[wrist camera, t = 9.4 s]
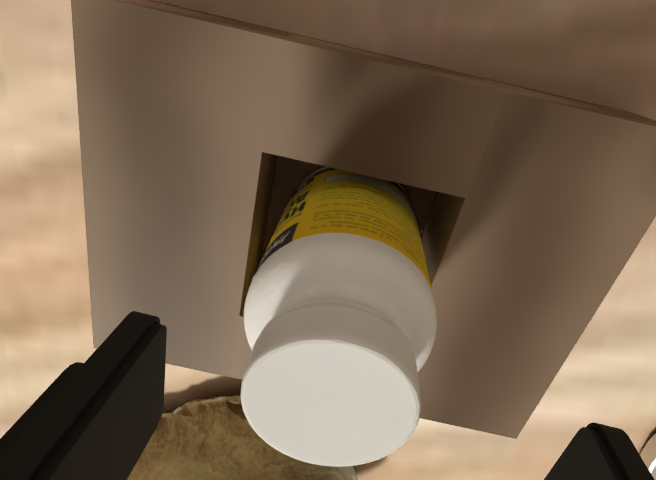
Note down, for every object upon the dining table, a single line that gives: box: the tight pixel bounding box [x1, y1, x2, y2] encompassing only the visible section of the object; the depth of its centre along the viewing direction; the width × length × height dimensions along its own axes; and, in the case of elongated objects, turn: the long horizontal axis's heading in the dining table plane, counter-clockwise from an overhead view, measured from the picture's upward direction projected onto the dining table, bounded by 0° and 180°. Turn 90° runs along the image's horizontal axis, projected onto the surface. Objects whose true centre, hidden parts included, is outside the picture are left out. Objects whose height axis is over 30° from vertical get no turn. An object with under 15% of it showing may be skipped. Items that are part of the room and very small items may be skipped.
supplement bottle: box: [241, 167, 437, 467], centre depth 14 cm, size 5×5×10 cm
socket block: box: [71, 0, 656, 439], centre depth 16 cm, size 18×13×4 cm
